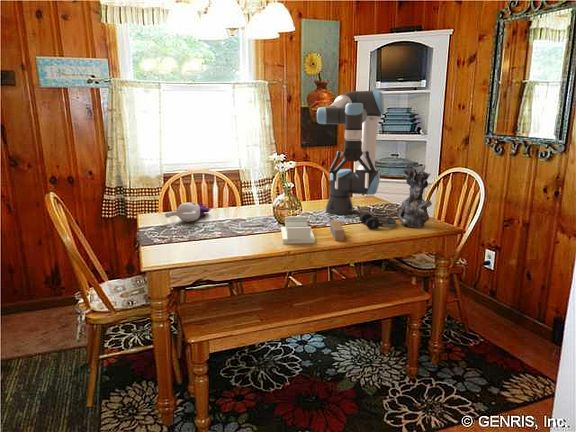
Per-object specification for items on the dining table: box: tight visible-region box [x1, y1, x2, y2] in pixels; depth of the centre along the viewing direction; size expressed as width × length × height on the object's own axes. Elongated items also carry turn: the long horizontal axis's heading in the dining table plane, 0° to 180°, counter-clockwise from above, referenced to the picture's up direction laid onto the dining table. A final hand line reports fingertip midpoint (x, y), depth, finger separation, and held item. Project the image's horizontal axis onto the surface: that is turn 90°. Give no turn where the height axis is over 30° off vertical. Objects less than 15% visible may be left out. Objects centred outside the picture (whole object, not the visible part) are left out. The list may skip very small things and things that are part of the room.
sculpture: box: [397, 164, 433, 229], centre depth 214 cm, size 14×15×30 cm
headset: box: [357, 205, 397, 230], centre depth 217 cm, size 14×10×20 cm
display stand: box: [280, 215, 316, 245], centre depth 200 cm, size 19×14×7 cm
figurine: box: [164, 202, 212, 223], centre depth 228 cm, size 16×10×30 cm
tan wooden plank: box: [329, 220, 345, 241], centre depth 202 cm, size 15×4×5 cm, turn 3°
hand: (351, 188), depth 196 cm, fingers open, 13 cm apart
